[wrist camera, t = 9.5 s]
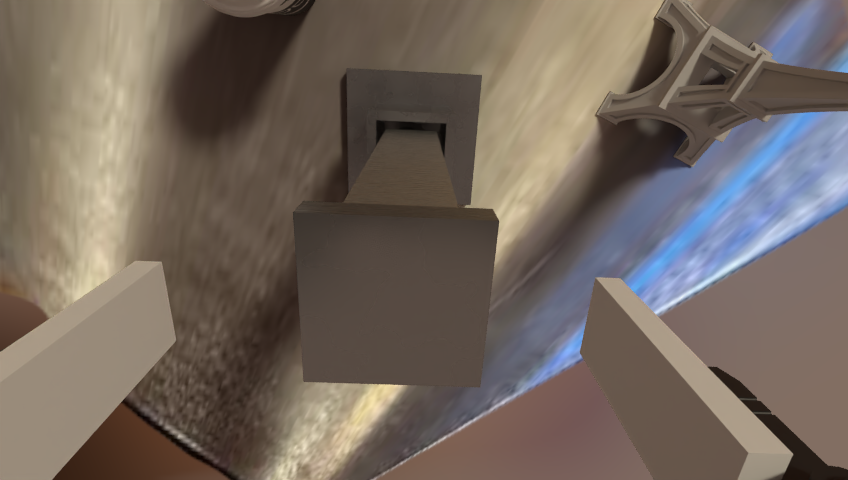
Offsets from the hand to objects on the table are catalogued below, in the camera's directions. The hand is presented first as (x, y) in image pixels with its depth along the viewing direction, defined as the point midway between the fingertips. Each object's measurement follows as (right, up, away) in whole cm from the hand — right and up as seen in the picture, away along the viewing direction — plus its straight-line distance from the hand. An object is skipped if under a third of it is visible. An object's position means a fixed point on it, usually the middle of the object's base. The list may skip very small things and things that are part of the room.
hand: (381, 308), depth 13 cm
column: (0, +10, +26) cm, 28 cm away
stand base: (0, +14, +36) cm, 38 cm away
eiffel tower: (+29, +19, +34) cm, 49 cm away
